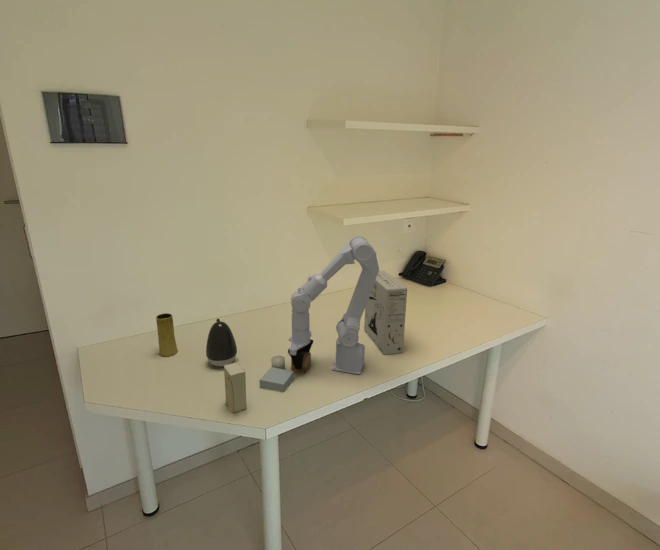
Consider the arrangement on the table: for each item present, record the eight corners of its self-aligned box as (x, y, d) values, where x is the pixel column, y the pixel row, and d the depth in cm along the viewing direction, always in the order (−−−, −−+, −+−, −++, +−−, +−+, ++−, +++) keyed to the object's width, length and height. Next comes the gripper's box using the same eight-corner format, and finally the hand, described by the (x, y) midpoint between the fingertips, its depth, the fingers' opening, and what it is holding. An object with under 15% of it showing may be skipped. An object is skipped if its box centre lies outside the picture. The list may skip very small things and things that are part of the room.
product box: (363, 330, 165) (366, 271, 158) (381, 328, 167) (384, 270, 160) (383, 355, 145) (387, 289, 138) (403, 353, 147) (407, 287, 140)
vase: (175, 356, 143) (171, 318, 139) (157, 357, 142) (152, 320, 138) (179, 348, 149) (175, 312, 145) (161, 349, 148) (156, 313, 144)
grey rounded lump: (287, 367, 137) (286, 356, 136) (281, 374, 133) (281, 363, 132) (275, 365, 138) (274, 354, 137) (269, 371, 134) (269, 360, 133)
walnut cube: (310, 365, 138) (310, 352, 136) (305, 373, 133) (305, 359, 132) (297, 363, 139) (296, 350, 138) (291, 370, 135) (291, 357, 133)
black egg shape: (235, 353, 146) (232, 314, 141) (239, 367, 136) (237, 325, 132) (205, 358, 142) (202, 317, 138) (208, 372, 133) (204, 330, 128)
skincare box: (225, 402, 118) (222, 365, 114) (240, 397, 120) (237, 361, 116) (232, 414, 113) (229, 375, 109) (247, 409, 115) (245, 371, 111)
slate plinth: (293, 379, 130) (293, 371, 129) (283, 393, 123) (283, 384, 122) (271, 375, 133) (270, 367, 132) (259, 388, 125) (259, 379, 124)
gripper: (297, 317, 139) (298, 352, 143) (280, 334, 126) (281, 373, 130) (317, 319, 137) (317, 355, 141) (301, 338, 124) (301, 377, 128)
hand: (301, 364), depth 136 cm, fingers closed on walnut cube, 5 cm apart
